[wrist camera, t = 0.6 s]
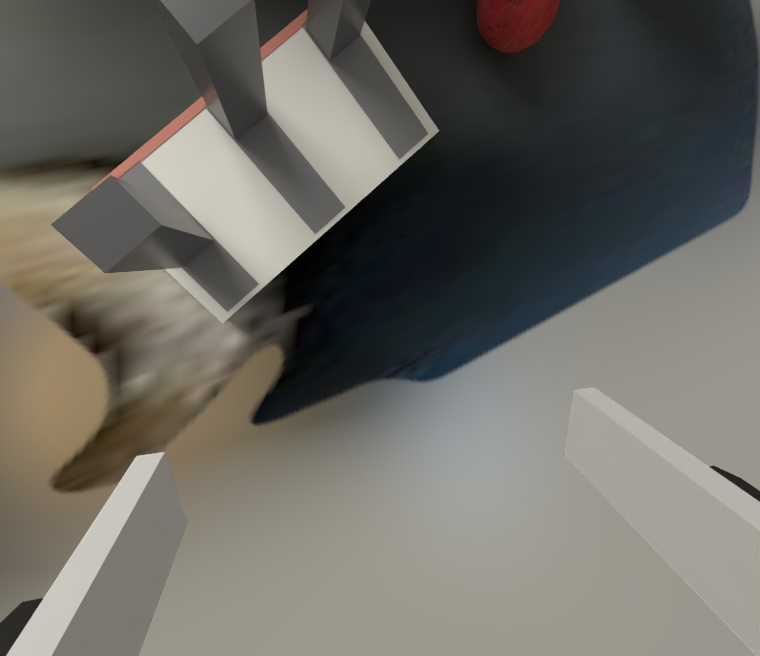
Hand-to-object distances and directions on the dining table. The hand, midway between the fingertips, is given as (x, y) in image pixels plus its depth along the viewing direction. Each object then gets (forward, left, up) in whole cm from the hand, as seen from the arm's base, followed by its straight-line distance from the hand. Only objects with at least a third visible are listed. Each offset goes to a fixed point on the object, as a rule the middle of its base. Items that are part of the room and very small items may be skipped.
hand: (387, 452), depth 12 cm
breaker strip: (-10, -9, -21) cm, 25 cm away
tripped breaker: (-2, -12, -19) cm, 23 cm away
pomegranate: (-29, +1, -22) cm, 36 cm away
